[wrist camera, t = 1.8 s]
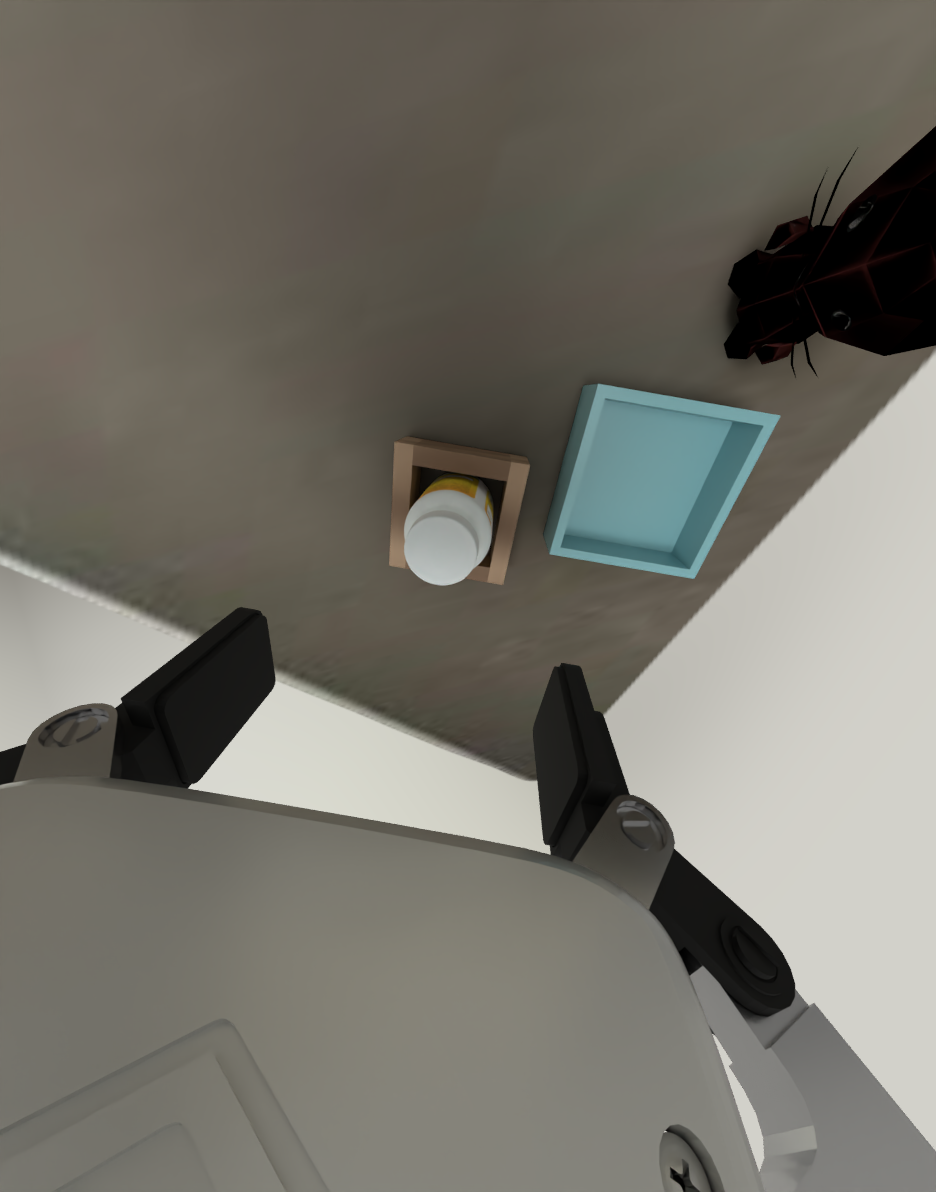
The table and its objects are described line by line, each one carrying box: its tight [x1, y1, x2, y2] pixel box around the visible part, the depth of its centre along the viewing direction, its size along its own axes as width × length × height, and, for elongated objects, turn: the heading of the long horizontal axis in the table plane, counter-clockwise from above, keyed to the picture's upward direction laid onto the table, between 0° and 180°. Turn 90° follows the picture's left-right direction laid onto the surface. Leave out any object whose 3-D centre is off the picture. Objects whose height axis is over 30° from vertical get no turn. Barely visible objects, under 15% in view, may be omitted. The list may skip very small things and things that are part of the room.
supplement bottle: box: [404, 472, 494, 585], centre depth 23 cm, size 5×5×10 cm
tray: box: [543, 384, 780, 579], centre depth 24 cm, size 10×10×4 cm
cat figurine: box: [724, 126, 936, 377], centre depth 15 cm, size 7×7×12 cm
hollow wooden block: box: [389, 436, 530, 585], centre depth 26 cm, size 9×9×4 cm
